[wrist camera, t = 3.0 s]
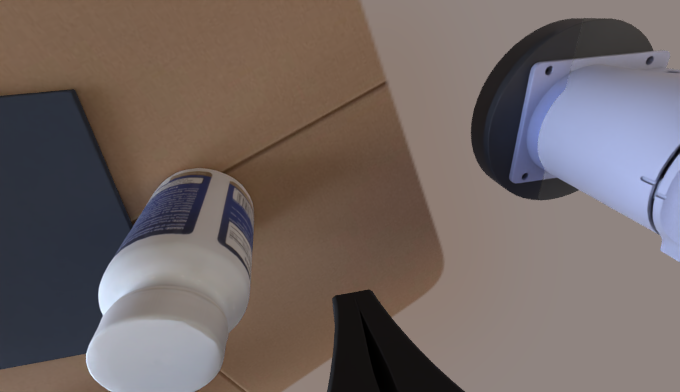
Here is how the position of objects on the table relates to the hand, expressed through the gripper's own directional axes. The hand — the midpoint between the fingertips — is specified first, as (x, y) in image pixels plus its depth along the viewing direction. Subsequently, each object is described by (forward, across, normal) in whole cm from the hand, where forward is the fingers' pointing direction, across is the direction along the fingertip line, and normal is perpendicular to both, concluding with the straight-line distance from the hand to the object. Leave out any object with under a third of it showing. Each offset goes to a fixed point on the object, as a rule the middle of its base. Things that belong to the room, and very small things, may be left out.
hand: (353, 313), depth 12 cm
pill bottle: (+10, +6, 0) cm, 11 cm away
